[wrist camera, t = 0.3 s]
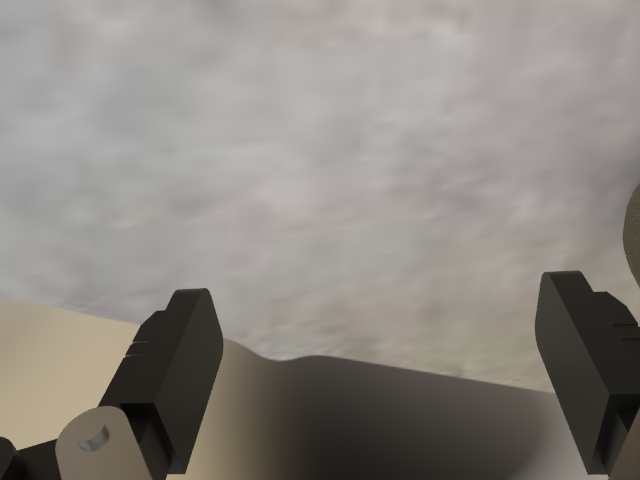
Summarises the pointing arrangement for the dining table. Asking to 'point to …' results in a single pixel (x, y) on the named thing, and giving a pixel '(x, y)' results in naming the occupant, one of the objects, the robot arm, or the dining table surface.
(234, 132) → the dining table surface
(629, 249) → the cantaloupe
